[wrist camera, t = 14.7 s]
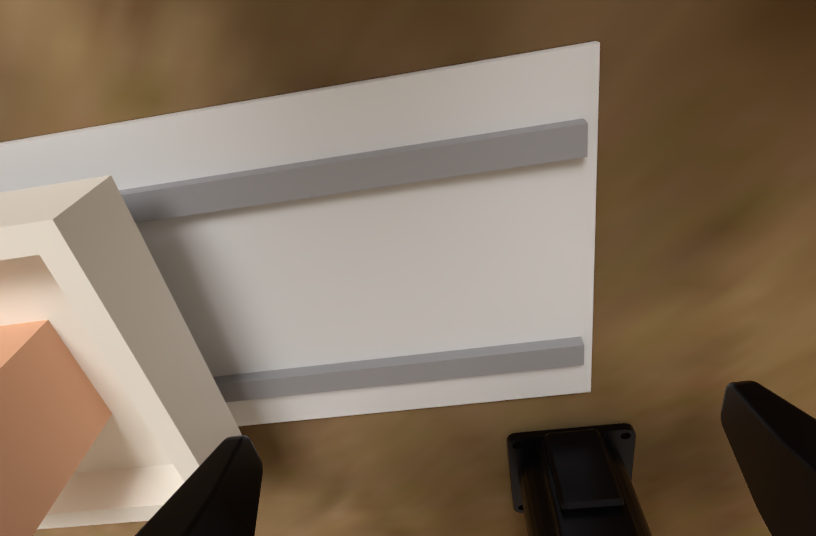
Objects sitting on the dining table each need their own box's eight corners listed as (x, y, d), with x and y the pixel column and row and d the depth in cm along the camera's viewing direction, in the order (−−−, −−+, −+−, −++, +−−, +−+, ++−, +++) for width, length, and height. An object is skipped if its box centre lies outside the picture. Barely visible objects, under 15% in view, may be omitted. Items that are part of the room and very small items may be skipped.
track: (588, 385, 26) (601, 420, 24) (-27, 446, 29) (-57, 481, 28) (596, 41, 17) (617, 53, 15) (-267, 188, 21) (-334, 212, 19)
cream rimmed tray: (259, 420, 26) (228, 514, 22) (8, 445, 28) (-67, 537, 23) (136, 155, 19) (52, 219, 14) (-198, 209, 20) (-363, 281, 16)
